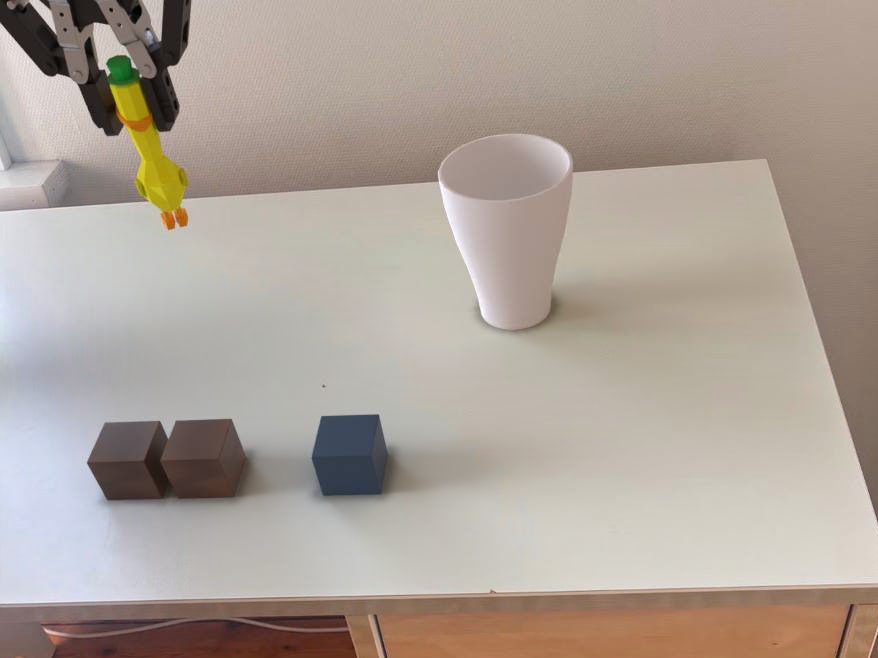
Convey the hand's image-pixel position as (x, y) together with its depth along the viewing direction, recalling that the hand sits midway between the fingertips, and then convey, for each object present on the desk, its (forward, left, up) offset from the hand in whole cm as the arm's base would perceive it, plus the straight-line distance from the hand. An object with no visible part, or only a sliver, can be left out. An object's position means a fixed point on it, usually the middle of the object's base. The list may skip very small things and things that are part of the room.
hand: (141, 127), depth 67 cm
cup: (+24, +7, -22) cm, 33 cm away
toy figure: (0, 0, -7) cm, 7 cm away
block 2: (+2, -13, -21) cm, 25 cm away
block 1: (-4, -13, -21) cm, 26 cm away
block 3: (+13, -13, -21) cm, 28 cm away
